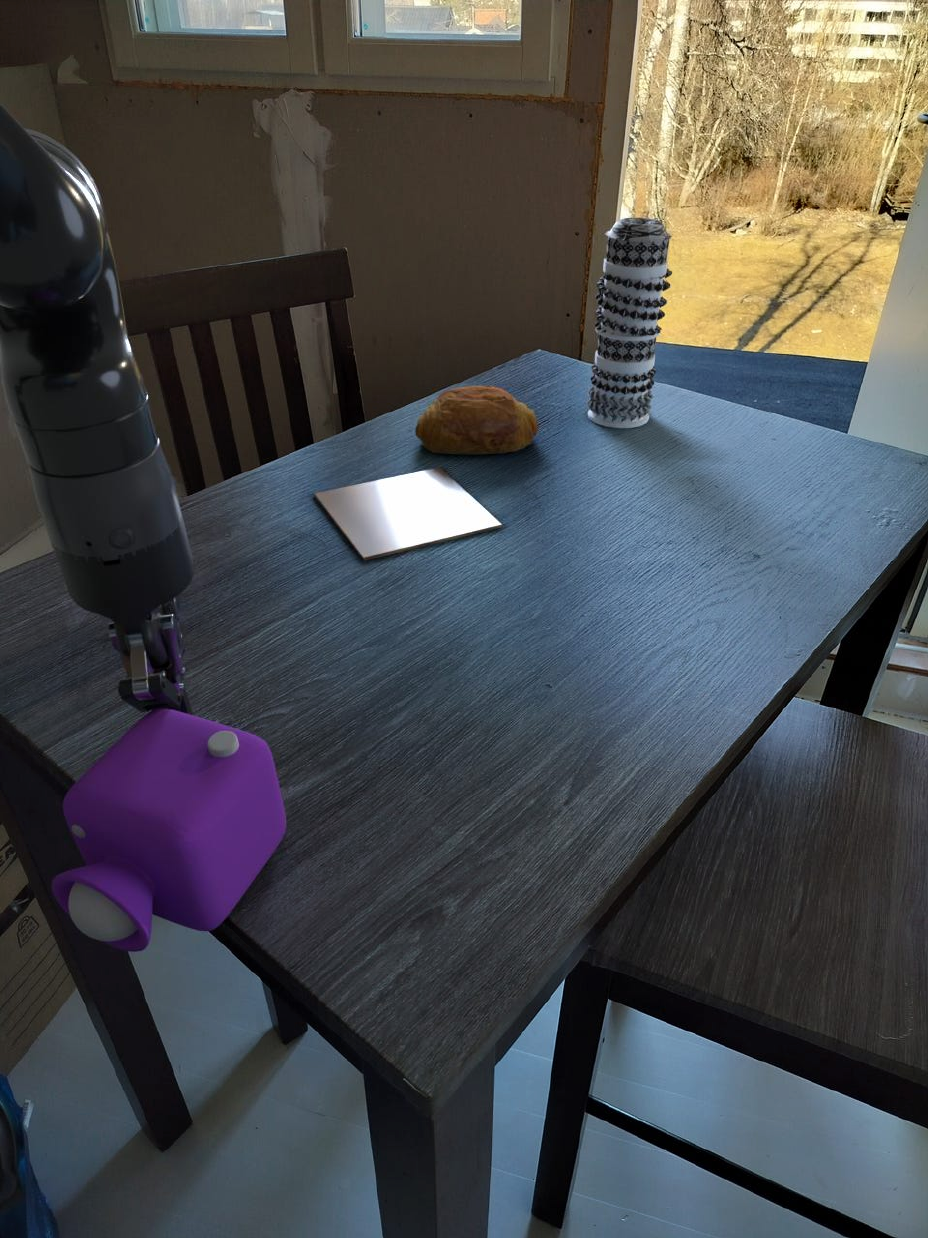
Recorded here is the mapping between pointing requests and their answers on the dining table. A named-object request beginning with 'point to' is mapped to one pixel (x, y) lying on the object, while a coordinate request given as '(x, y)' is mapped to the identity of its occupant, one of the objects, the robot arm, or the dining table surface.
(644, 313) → the decorative candle
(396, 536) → the square metal plate
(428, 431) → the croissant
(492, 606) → the dining table surface
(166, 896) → the toy camera
